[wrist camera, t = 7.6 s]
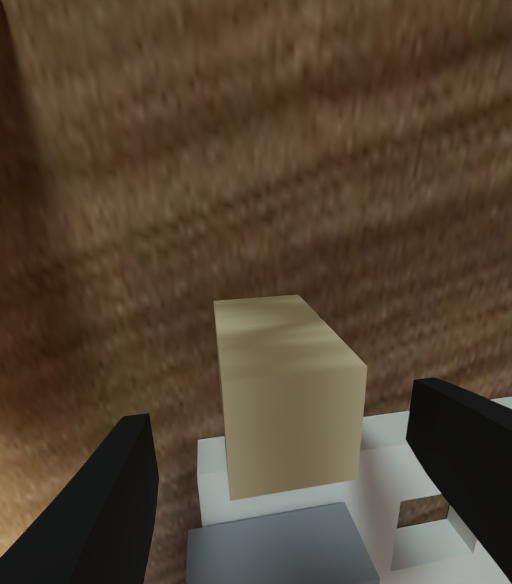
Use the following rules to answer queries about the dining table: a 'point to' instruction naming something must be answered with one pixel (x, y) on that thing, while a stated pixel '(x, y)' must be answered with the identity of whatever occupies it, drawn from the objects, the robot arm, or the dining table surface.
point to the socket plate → (368, 508)
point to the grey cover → (281, 550)
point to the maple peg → (286, 397)
